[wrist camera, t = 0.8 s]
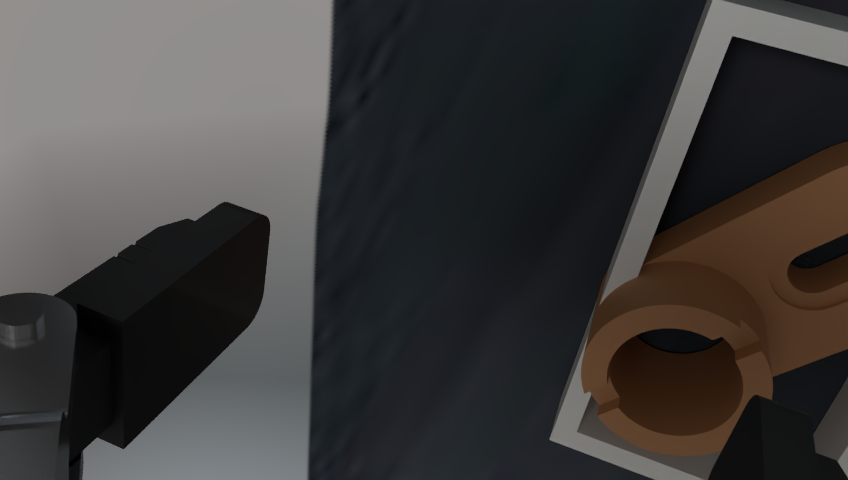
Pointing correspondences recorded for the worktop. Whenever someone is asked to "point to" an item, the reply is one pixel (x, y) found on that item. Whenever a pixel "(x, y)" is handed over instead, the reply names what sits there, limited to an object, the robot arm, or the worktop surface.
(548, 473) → the worktop surface
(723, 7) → the frame
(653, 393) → the bracket
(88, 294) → the robot arm
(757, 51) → the worktop surface
